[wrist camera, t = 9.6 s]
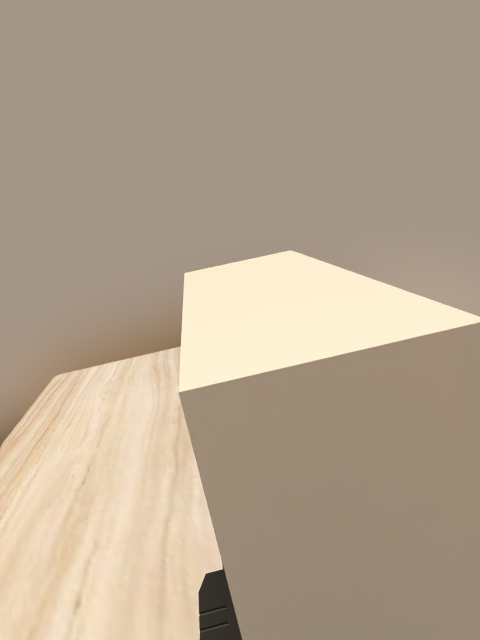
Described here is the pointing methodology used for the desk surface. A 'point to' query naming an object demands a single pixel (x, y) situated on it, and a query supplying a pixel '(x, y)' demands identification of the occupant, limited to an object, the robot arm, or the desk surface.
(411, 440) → the beige rectangular block
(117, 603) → the desk surface
